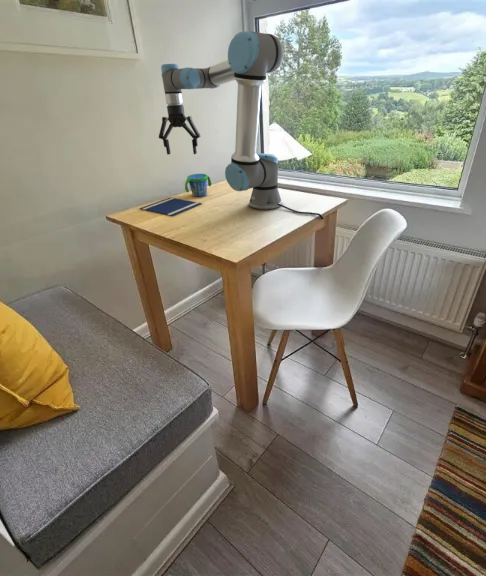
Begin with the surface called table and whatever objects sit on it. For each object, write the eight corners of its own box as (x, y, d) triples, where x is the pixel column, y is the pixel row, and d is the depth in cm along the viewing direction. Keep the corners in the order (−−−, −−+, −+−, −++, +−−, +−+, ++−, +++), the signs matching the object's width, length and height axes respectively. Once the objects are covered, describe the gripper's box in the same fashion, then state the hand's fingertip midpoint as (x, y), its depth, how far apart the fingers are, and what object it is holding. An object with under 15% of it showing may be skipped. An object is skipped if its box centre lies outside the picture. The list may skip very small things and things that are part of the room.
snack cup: (191, 200, 165) (189, 180, 160) (182, 196, 172) (179, 176, 167) (217, 194, 173) (215, 174, 168) (206, 190, 180) (204, 171, 175)
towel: (201, 204, 160) (201, 203, 160) (172, 216, 146) (172, 215, 145) (170, 198, 170) (169, 197, 170) (140, 209, 156) (139, 208, 156)
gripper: (203, 103, 150) (208, 152, 161) (152, 105, 153) (160, 152, 165) (198, 104, 144) (204, 155, 155) (145, 105, 147) (155, 155, 158)
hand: (182, 154), depth 160 cm, fingers open, 13 cm apart
